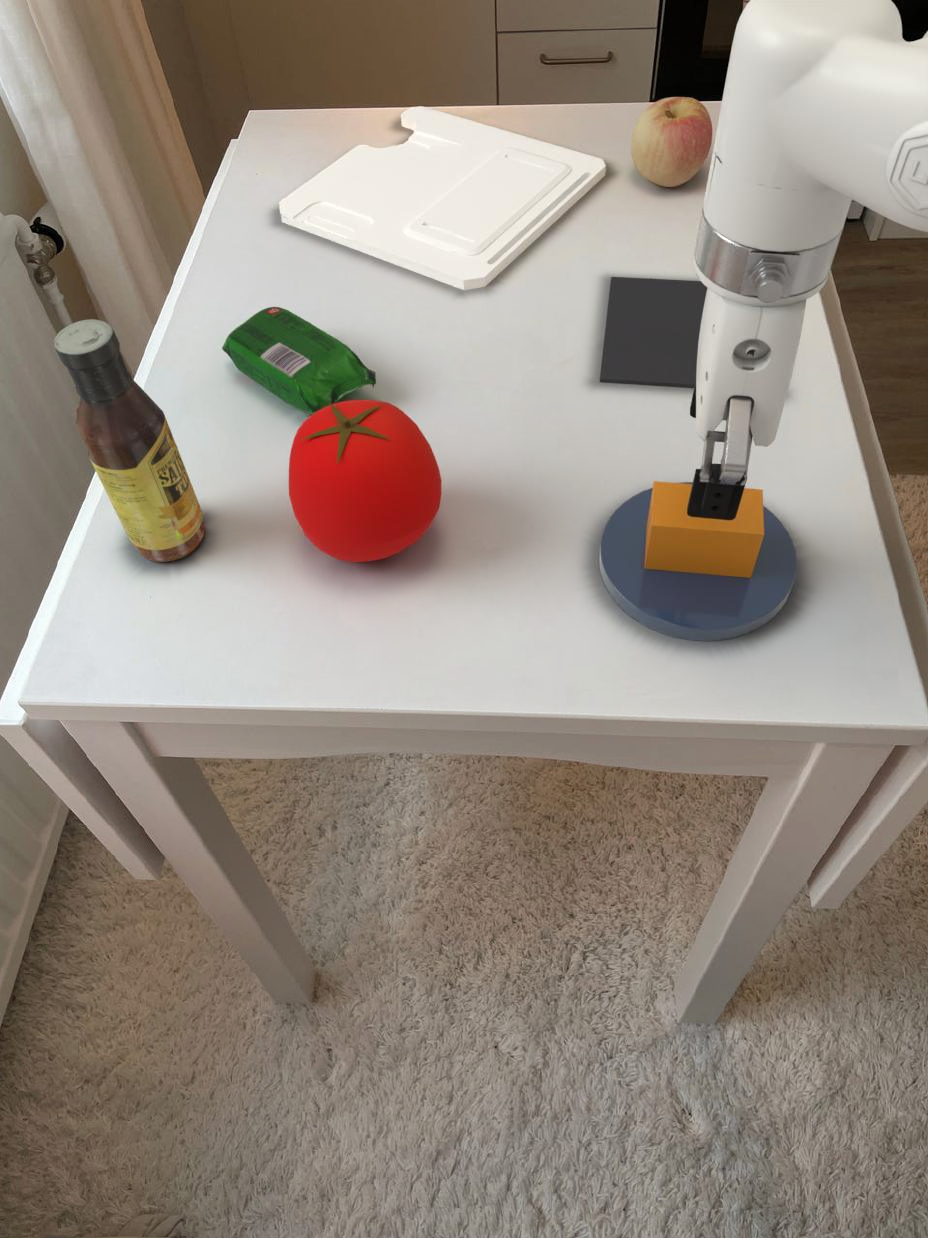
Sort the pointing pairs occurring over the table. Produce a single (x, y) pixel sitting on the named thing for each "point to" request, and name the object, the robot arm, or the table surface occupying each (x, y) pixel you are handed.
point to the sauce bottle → (130, 445)
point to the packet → (702, 534)
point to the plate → (693, 581)
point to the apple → (672, 140)
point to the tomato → (363, 480)
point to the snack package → (296, 360)
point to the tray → (444, 197)
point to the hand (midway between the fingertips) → (710, 463)
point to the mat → (652, 331)
